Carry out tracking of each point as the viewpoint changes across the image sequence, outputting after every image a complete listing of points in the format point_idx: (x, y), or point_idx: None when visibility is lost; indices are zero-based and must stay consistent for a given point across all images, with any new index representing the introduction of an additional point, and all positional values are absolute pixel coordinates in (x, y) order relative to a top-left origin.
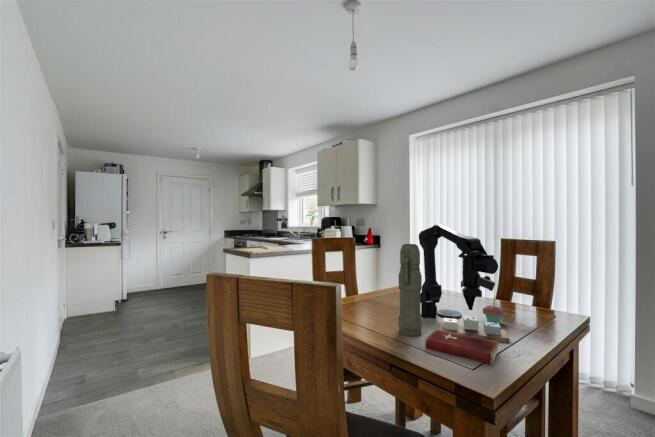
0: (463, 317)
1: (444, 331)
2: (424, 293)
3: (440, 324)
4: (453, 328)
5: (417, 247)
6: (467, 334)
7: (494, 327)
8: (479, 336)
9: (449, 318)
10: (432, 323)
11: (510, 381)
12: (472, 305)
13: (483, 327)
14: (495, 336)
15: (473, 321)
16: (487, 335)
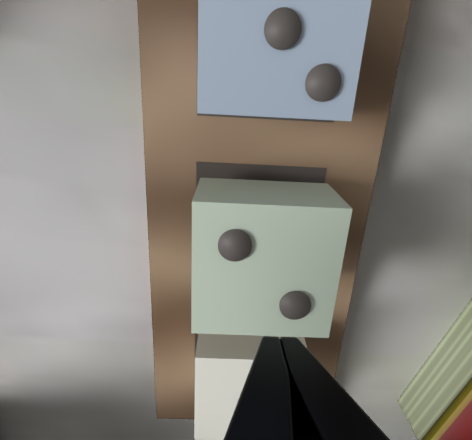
0: (202, 325)
1: (456, 422)
2: None
3: (191, 402)
4: None
5: None
6: (357, 257)
7: (363, 19)
8: (372, 173)
9: (199, 404)
10: (113, 416)
11: None
12: (346, 403)
13: (142, 103)
14: (387, 34)
15: (341, 254)
16: (370, 107)
